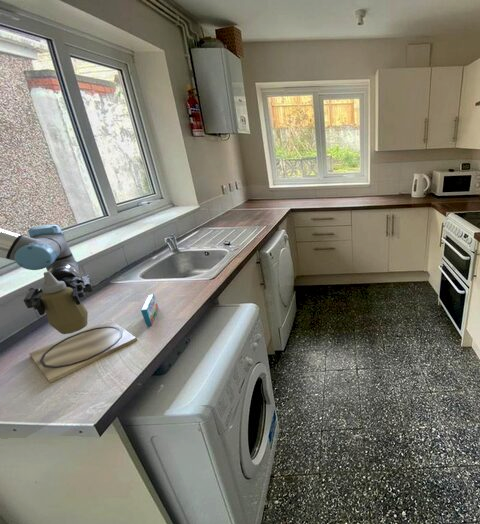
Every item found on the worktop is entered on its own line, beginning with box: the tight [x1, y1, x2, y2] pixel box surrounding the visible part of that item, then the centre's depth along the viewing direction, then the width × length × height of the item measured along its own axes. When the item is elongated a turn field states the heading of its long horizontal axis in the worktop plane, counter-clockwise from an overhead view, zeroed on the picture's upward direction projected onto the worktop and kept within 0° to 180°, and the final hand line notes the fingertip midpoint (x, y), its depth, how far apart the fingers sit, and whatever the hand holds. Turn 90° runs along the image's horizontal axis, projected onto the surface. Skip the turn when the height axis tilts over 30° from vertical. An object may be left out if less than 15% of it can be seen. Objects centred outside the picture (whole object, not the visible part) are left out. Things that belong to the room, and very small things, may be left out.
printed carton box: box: [140, 293, 160, 327], centre depth 99 cm, size 12×2×6 cm, turn 23°
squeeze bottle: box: [40, 271, 89, 335], centre depth 80 cm, size 8×8×18 cm
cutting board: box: [29, 318, 138, 384], centre depth 86 cm, size 20×20×1 cm
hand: (58, 305), depth 76 cm, fingers closed on squeeze bottle, 6 cm apart
